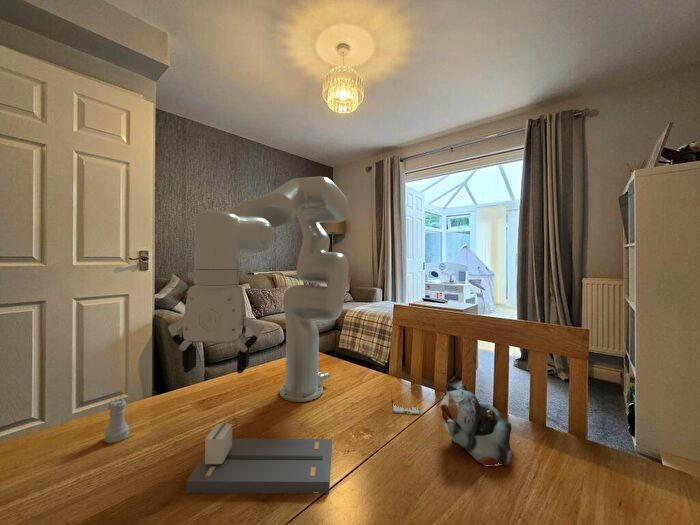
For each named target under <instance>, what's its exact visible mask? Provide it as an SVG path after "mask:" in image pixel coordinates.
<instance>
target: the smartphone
mask: <svg viewBox="0 0 700 525" xmlns="http://www.w3.org/2000/svg"><path fill="white" fill-rule="evenodd" d="M391 411H393V412H395V413H394V414H397V413H407V412H408V413H412V414H420V413H421V414H422V412H421V409H420V410H418V407H417V410H416V407H415V408H414V407H412V410H411V409H410V408H409V410H408V409H405V410H404V408H403V407H402V408H401V407H400V408H399V406H398V407H397V406H396V405H395V406H394V404H393V406H392V405H391ZM393 412H392V413H393ZM421 414H420V415H421Z"/></svg>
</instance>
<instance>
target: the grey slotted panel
mask: <svg viewBox="0 0 700 525" xmlns="http://www.w3.org/2000/svg"><path fill="white" fill-rule="evenodd" d="M332 447H333V439H332V438H248V437H247V438H245V437H244V438H241V437H239V438H237V437H235V438H234V437H232V448H231V449H230V451H229V453H228V454H227V456H226V458H225V459H224V461H223V463H222V464H205V454H204V455H203V457H202V458H201V459H200V461H199V463H198V464H197V465H196V467H195V468H194V469H193V471H192V472H191V474H190V475H189V477H188V478H187V479H186V481H185V482H186V484H185V487H186V488H185V489H186V490H185V493H186V494H314V493H313V492H319V493H318V494H330V487H331V485H330V484H331V483H330V482H331V469H332V468H331V467H332V449H333V448H332Z"/></svg>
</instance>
